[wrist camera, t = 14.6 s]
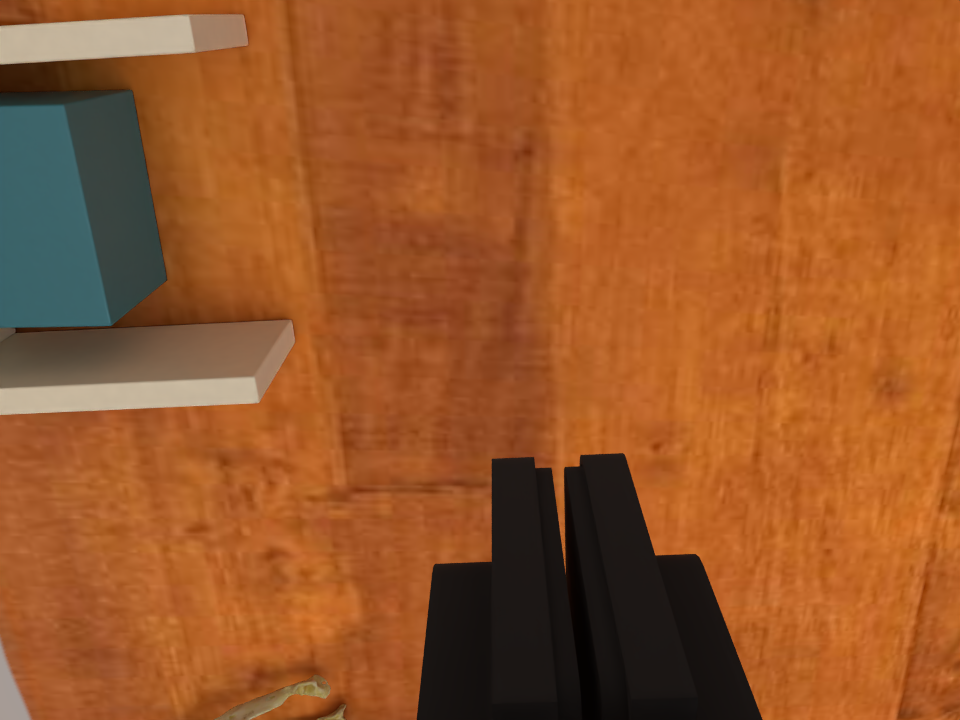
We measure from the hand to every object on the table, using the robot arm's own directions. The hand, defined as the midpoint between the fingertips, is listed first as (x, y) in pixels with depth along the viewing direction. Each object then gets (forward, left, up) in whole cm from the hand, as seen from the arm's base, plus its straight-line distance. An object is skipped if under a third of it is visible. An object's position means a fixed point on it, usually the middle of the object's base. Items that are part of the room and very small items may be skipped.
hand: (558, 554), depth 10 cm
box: (+10, -12, -21) cm, 26 cm away
